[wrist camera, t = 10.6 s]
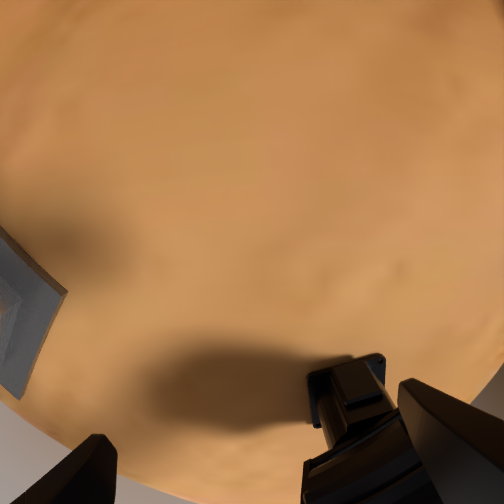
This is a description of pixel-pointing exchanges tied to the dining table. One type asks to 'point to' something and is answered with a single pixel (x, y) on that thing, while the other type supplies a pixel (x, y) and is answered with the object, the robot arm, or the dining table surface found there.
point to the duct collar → (23, 313)
